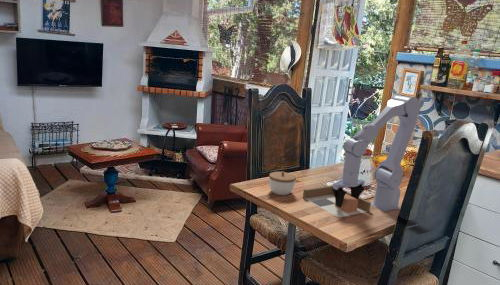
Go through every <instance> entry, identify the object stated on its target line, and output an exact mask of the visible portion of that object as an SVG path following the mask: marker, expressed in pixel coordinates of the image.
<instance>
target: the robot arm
mask: <svg viewBox="0 0 500 285" xmlns="http://www.w3.org/2000/svg"><path fill="white" fill-rule="evenodd" d="M421 109H422V104H421V103H420V100H419V98H418V97H415V96H407V95H401V94H397V93H396V94H394V95H392V96H391V97H390V99H389V100H387V102H386V106H385V107H384V109H383V110H381V112H380V113H379V114H378V115H377V117H376V118H375V119H373V121H372V122H371V123H366V124H363V125H362V128H361V129H360V130H359V131H358V132H357V133H355V134H354V135H353V136H352V137H350V138H348V139H347V140H345V142H344V144H343V145H342V146H343V147H342V148H343V150H344V163H343V168H342V174H341V178H339V179H340V180H339V181H337V182H334V183H333V184H332V185H333V187H332V190H333V192H334V195H335V201H336V206H338V207H341V206H342V203H343V199H344V196H345V194H346V191H347V190H345V189H346V188H347V189H348V188H350V193H351V196H352V197H354V198H356V199H358V198H359V197H360V196H361V195H362V193H363V192H364V191H365V187H364V186H365V180H364V179H359V174H360V168H361V162H362V156H363V155H365V154H366V152H367V148H368V147H369V145H370V143H371V142H372V141H374V140H375V139H376V138H377V137H378V136H379V130H380V129H382V128H383V126H384V125H386V124H387V123H388V122H389V121H390V120H392V118H394V117H398V118H399V121H400V122H399V125H398V127H397V130H396V133H395V135H394V138H393V141H392V144H391V145H390V148H389V150H388V154H387V155H386V156H387V157H386V158H385V159H384V160H382V161H381V162H379V164H378V166H377V168H375V170H374V172H373V178H374V180H375V184H376V185H375V186H376V187H375V192H374V198H373V201H372V202H371V205H370V206H373V207H375V208H377V209H379V210H381V211H383V212H385V211H387V212H388V211H392V210H399V209H400V206H399V202H400V197H401V189H400V186H401V184H402V182H403V176H404V170H403V168H402V166H401V163H402V161H403V158H404V156H405V153H406V151H407V148H408V146H409V143H410V141H411V138H412V135H413V133H414V130H415V128H416V125H417V123H418V117H419V113H420V112H421ZM344 190H345V191H344Z"/></svg>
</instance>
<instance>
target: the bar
mask: <svg viewBox="0 0 500 285" xmlns="http://www.w3.org/2000/svg"><path fill="white" fill-rule="evenodd" d="M357 205H358V199H356V198H354V197H352V196H350V195H347V194H345V196H344V199H343V203H342V206H341V207H338V206H336V201H335V206H336V207H338V208H340V209H342V210H344V211H346V212H348V213H349V212H354V211H357Z"/></svg>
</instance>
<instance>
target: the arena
mask: <svg viewBox="0 0 500 285" xmlns="http://www.w3.org/2000/svg"><path fill="white" fill-rule="evenodd" d="M332 187H333V184H332V185H325V186H319V187H318V186H317V187H311V188H304V189H303V192H302V199H304V200H306V201H308V202H309V203H312V204H313V205H315V206H317V207H318V208H320V209H322V210H324V211H325V212H328V213H329V214H331V215H333V216H335V217H337V218H338V219H339V218H344V217H348V216H352V215H353V216H354V215H358V214H363V213H368V212H370V210H371V206H372V205H371V203H372V202H371V201H370V200H366V199H365V198H362V197H360V196H359V198H358V205H357V211H354V212H349V213H348V212H346V211H344V210H342V209H340V208H338V207H336V206H335V204H332V205H326V206H321V207H320V206H318V205H316V204H315V203H313V202H311V201H314V200H320V199H328V200H330V201H332V202H334V203H335V195H334V192H333V190H332ZM343 190H344V191H346V194H347V195H350V196H351V192H349V191H347V190H345V189H343Z"/></svg>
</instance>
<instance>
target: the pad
mask: <svg viewBox="0 0 500 285" xmlns="http://www.w3.org/2000/svg"><path fill="white" fill-rule="evenodd" d="M311 202H313V203H315V204H316V205H315V204H314V205H315V206H317V205H318V206H320V207H321V206H326V205H332V204H335V203H334V202H332V201H330V200H328V199H320V200H314V201H311ZM311 202H310V203H311ZM313 203H312V204H313ZM318 206H317V207H318ZM320 207H319V208H320Z"/></svg>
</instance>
